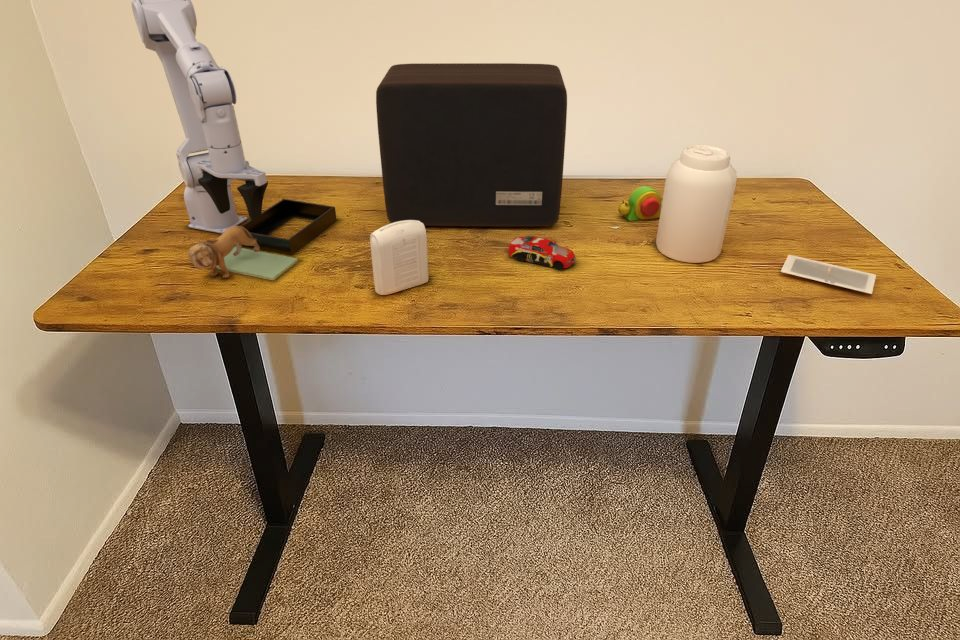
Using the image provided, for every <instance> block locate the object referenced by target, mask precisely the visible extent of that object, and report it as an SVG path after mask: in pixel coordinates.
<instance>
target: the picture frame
mask: <svg viewBox="0 0 960 640" xmlns="http://www.w3.org/2000/svg"><path fill="white" fill-rule="evenodd" d="M336 211H337V210H336V207H335V206H333V205H326V204H320V203H313V202H306V201H301V200H294V199H289V198H282V199H281V200H279V201H278V202H276V203H275V204H272V205H271V206H270V207H268V208H266V209H265V210H263V211H262V214H261V218H259V219H257V220H256V221H251V219H250V220H248V221H245V223H242V224H241V226H242V227H244V228H246V229H247V230H248V231H249V232H250V234H251V235H252V237H253V238H256V239H257V241H256V242H257V244H258V245H259V247H260V250H261V251H265V252H269V253H270V252H271V253H275V254H280V255H281V254H282V255H285V256H293V255H294V254H296V253H297V252H299V251H300V250H302V249H303V248H304V247H305V246H307V245H308V244H309V243H310V242H312V241H313V240H314V239H316V237H318V236H319V235H320V234H322V233H323V232H324V231H326V230H327V229H328V228H330V227H331V226H332V225H334V224H335V223H337V221H338V218H337V212H336ZM293 218H298V219H304V220H309V221H311V222H310V223H309V224H307V225H305V226H303V228H301V229H300V230H298V231H297V232H296V233H295V234H292V236H291V237H289V238H284V237H279V236H273V235H270V234H271V233H273V232H275V231H276V230H278V228H280V227H282V226H283V225H284V224H286V223H287V222H289V221H290V220H291V219H293ZM246 235H247V234H246ZM247 236H248V235H247ZM248 237H249V236H248ZM241 245H242V244H241ZM242 247H243V248H248V249H253V248H254V247H255V246H246V245H242ZM260 250H259V251H260Z"/></svg>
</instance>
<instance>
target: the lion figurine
mask: <svg viewBox="0 0 960 640" xmlns="http://www.w3.org/2000/svg"><path fill="white" fill-rule="evenodd" d="M246 234H247V235H248V236H249V237H248V236H247V235H246ZM256 241H257V239H256V238H253V237H252V235H251V234H250V232H249V231H248V230H247V229H246V228H244V227H242V225H238V226H233V227H229V228H227V229H226V230H225V231H224V233H223V234H220V235H219V236H218V237H217V238H216V239H214V240H213V239H206V240H204V241H202V240H201V241H199V242H195V243H194V244H193V245H191V246H190V247H189V249H188V252H187V255H188V259H189V261H190V262H191V263H192V265H193V266H194V267H195V268H196V269H197V270H201V271H202V270H208V271H210V276H212V277H216V276H217V275H218V269H217V267H216V266H217V265H218V266H219V267H220V268H221V270H220V271H221V272H222V275H221V276H222V278H223V279H227V278H230V272H229V271H228V270H227V268H226V265H225V261H224V257H225V256H227V255H228V254H229V253H230V252H231V251H232V250H233V248H234V247H236V248H237V249H236V251H235V252H234V253H233V255H234V256H237V255H239V254H240V251H241V248H243V246H242V245H246V246H255V247H254V248H252V250H253V251H254V252H258V251H260V247H259V245H258V244H257V242H256ZM241 244H242V245H241Z"/></svg>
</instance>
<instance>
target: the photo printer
mask: <svg viewBox="0 0 960 640" xmlns="http://www.w3.org/2000/svg"><path fill="white" fill-rule="evenodd" d="M427 235H428V234H427V230H426V226H424V224H423V223H421V222H420V221H417V220H404V221H398V222H394V223H391V222H390V223H388V224H385V225H383V226H381V227H379V228H377V229H375V230H374V231H373V232H371V234H370V236H369V245H370V253H371V255H370V256H371V267H372V276H373V285H374V291H375V293H376V294H377V295H380V296H388V295H391V294H394V293H398V292H402V291H405V290H408V289H411V288H414V287H418V286H422V285H423V284H426V283H428V282H429V260H428V259H429V257H428V237H427Z"/></svg>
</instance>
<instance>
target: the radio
mask: <svg viewBox="0 0 960 640" xmlns="http://www.w3.org/2000/svg"><path fill="white" fill-rule="evenodd" d="M567 91H568V90H567V88H566V85H565V82H564V78H563V76H562V72H561V69H560V67H559V66H557V65H556V64H548V63H518V62H517V63H516V62H515V63H514V62H513V63H512V62H511V63H510V62H507V63H505V62H503V63H501V62H500V63H499V62H498V63H497V62H495V63H491V62H489V63H486V62H484V63H483V62H482V63H478V62H477V63H475V62H474V63H472V62H471V63H464V62H463V63H462V62H461V63H457V62H456V63H455V62H454V63H451V62H450V63H442V62H441V63H439V62H438V63H436V62H435V63H433V62H432V63H398V64H393V65H391V66H390V67H389V69H388V70H387V72H386V74H385V75H384V76H383V78H382V80H381V81H380V83H379V85H377V87H376V91H375V107H376V121H377V135H378V145H379V155H380V165H381V166H380V167H381V177H382V187H383V189H382V190H383V195H384V196H383V197H384V205H385V212H386V217H387V220H388V221H389V223H390V224H391V223H394V222H398V221H404V220H417V221H420V222H421V223H423V224H424V226H425V227H429V226H430V227H503V228H505V227H507V228H508V227H509V228H510V227H550V226H554V225H556V224H557V223H558V221H559V218H560V212H561V203H562V192H563V191H562V190H563V179H564V178H563V177H564V164H565V148H566V133H567V116H568V115H567V114H568V92H567Z"/></svg>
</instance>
